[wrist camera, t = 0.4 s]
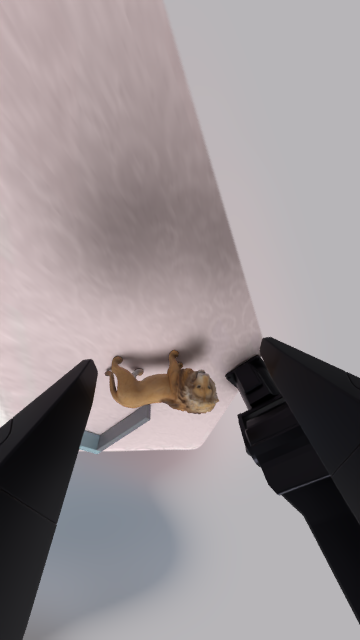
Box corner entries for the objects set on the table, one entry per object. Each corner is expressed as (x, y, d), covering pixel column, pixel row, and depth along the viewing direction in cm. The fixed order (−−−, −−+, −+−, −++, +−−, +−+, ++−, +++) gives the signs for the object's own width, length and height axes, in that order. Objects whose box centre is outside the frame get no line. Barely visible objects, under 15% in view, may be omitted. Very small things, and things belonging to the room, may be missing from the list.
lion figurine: (201, 337, 25) (222, 392, 18) (204, 363, 28) (223, 420, 20) (98, 358, 25) (75, 424, 17) (112, 383, 28) (97, 448, 20)
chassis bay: (150, 405, 32) (150, 419, 30) (100, 439, 36) (97, 454, 33) (79, 369, 25) (72, 383, 23) (27, 415, 29) (17, 431, 27)
